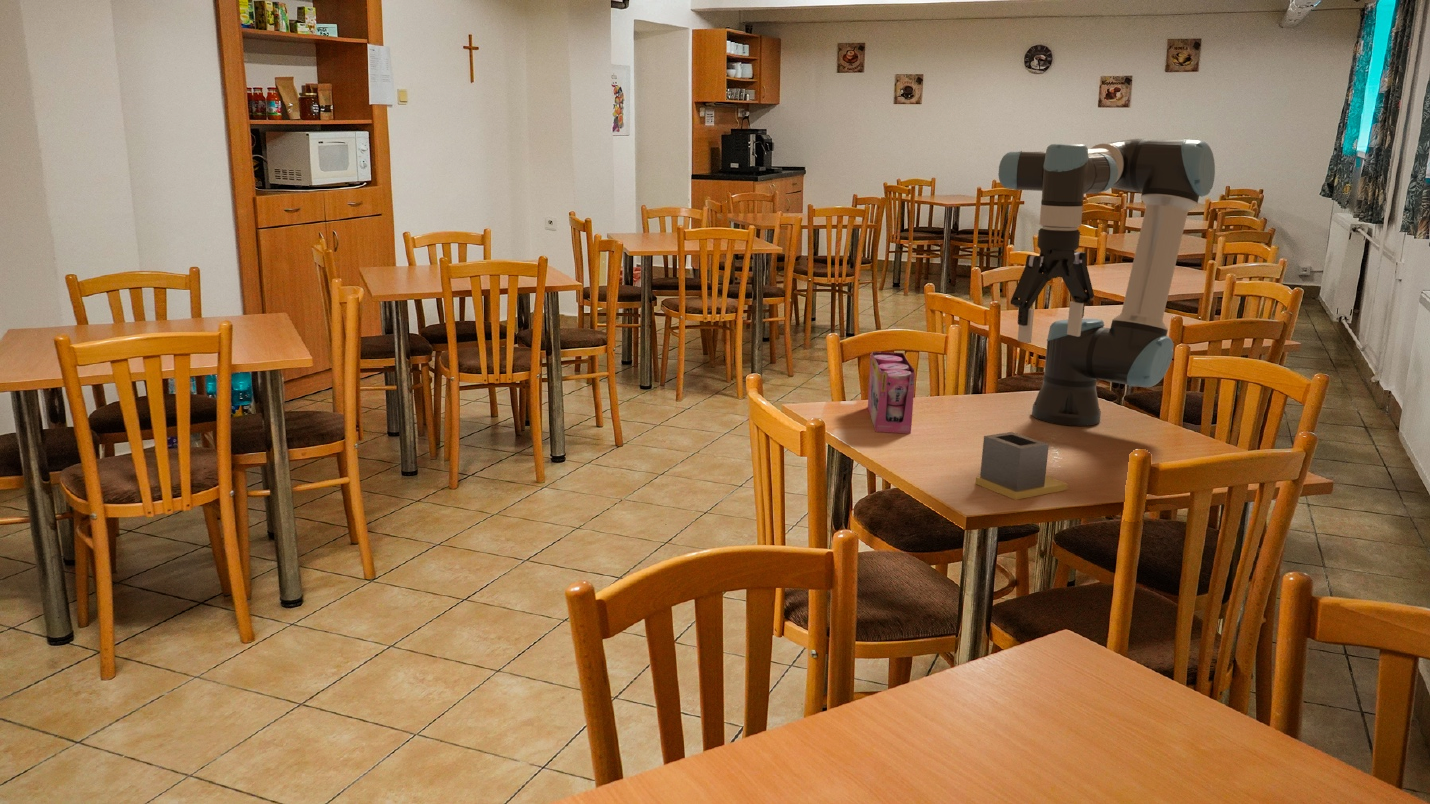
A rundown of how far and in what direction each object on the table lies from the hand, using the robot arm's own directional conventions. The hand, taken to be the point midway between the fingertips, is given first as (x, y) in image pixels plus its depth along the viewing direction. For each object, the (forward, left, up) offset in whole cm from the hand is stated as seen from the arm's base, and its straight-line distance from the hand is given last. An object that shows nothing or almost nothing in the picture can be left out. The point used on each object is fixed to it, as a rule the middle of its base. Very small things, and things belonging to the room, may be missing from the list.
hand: (1049, 338), depth 205 cm
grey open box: (+18, +11, -24) cm, 31 cm away
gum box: (+7, -38, -25) cm, 46 cm away
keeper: (+15, +11, -25) cm, 31 cm away
